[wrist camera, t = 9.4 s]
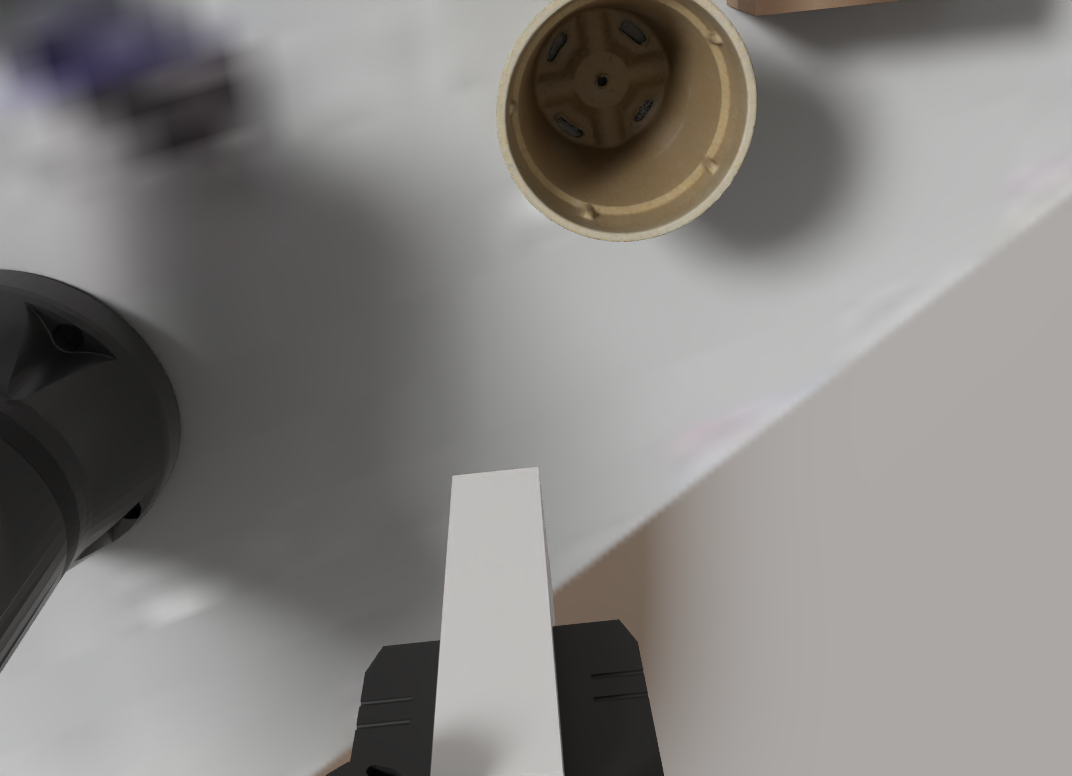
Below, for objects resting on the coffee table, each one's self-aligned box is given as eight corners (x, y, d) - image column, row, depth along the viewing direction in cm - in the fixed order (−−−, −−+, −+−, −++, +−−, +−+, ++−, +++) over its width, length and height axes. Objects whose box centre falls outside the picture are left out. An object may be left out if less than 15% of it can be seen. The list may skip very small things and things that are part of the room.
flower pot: (734, -15, 40) (791, 2, 33) (680, 200, 44) (719, 260, 37) (515, -59, 39) (521, -52, 32) (480, 166, 43) (478, 220, 36)
